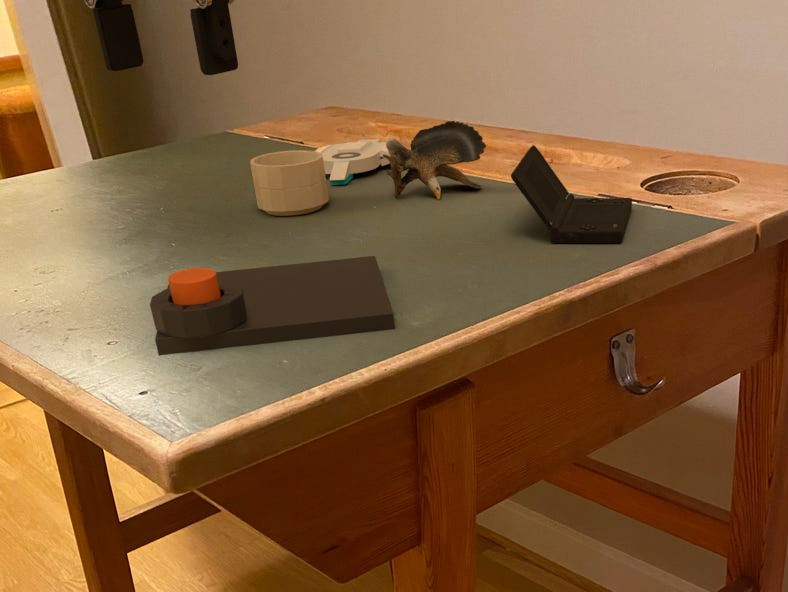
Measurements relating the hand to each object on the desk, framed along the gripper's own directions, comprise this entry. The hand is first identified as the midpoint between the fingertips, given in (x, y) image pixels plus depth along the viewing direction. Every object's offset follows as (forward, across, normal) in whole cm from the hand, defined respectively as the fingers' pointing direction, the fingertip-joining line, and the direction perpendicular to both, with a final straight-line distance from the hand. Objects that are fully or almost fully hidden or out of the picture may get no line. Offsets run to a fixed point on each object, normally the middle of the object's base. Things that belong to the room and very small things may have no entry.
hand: (172, 70), depth 74 cm
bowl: (+14, -7, +19) cm, 25 cm away
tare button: (+12, +11, -12) cm, 20 cm away
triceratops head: (+15, +3, +28) cm, 32 cm away
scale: (+15, +11, -5) cm, 19 cm away
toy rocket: (+15, -12, +34) cm, 39 cm away
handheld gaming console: (+15, +21, +23) cm, 34 cm away
